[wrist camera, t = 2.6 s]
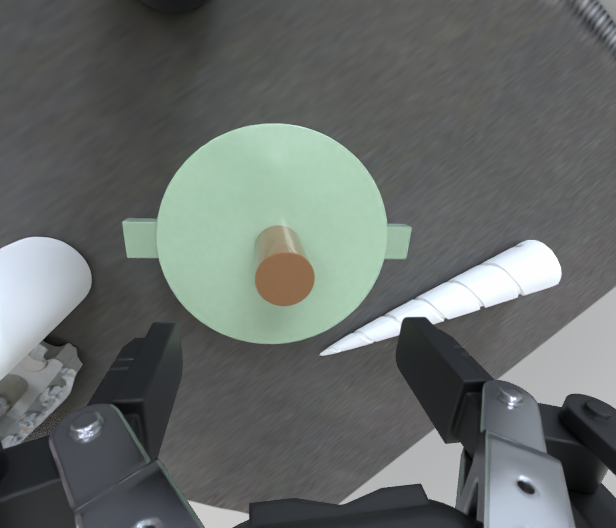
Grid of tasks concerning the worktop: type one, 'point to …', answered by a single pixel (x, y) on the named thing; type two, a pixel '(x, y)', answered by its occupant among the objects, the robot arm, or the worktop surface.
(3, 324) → the can
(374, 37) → the worktop surface
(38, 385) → the egg carton
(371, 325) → the unicorn horn
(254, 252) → the pan lid
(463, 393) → the robot arm
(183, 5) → the supplement container
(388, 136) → the worktop surface
